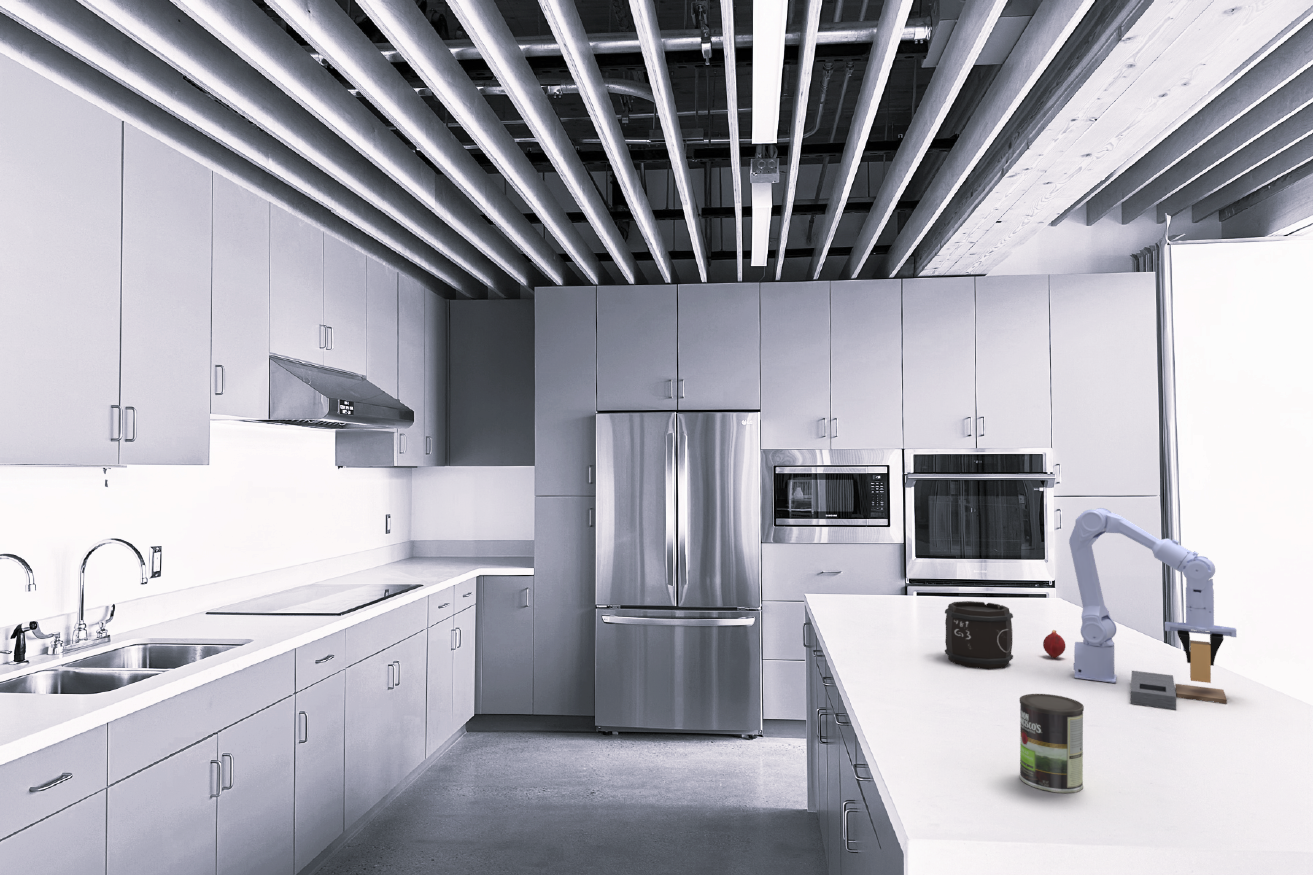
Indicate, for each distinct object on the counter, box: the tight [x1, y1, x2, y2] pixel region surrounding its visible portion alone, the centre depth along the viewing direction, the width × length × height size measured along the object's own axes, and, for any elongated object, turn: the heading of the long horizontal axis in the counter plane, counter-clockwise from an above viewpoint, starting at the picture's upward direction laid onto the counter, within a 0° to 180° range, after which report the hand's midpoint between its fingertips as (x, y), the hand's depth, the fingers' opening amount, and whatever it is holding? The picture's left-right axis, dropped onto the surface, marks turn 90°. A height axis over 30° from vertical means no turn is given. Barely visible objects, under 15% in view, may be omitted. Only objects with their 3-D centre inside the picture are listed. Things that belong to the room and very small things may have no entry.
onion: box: [1042, 629, 1067, 659], centre depth 240 cm, size 6×6×8 cm
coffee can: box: [1019, 693, 1085, 794], centre depth 148 cm, size 10×10×14 cm
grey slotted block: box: [1130, 670, 1177, 711], centre depth 203 cm, size 9×22×3 cm, turn 150°
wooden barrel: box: [944, 600, 1014, 670], centre depth 235 cm, size 18×18×16 cm
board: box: [1174, 683, 1228, 705], centre depth 203 cm, size 10×10×1 cm
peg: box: [1189, 639, 1212, 684], centre depth 203 cm, size 4×4×9 cm
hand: (1200, 663), depth 203 cm, fingers closed on peg, 4 cm apart
